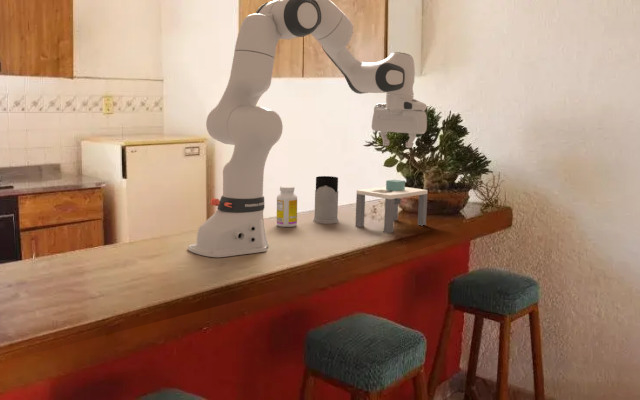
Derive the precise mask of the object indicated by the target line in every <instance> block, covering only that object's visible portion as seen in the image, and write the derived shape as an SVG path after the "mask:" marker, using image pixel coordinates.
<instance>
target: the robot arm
mask: <svg viewBox="0 0 640 400" xmlns="http://www.w3.org/2000/svg"><path fill="white" fill-rule="evenodd" d="M353 34H354V25H353V24H352V22H351V20H350V19H349V17H348V16H347V15H346V14H345V13H344V12H343V11H342V10H341V9H340V8H339V7H338V6H337V5H336V4H335V3H334V2H333V1H331V0H272V1H268V2H266V3H264V4H261V6H259V7H258V8H257V9H256V12H255V13H252V14H249V15H247V16H245V17H244V18H243V20H242V22H241V25H240V28H239V30H238V34H237V38H236V41H235V45H234V51H233V52H234V53H233V58H232V63H231V70H230V74H229V75H230V76H229V79H228V82H227V86H226V88H225V90H224V92H223V94H222V96H221V99H220V100H219V101H218V103H217V104H216V106H215V107H214V108H213V109H211V111H210V112H209V113H208V115H207V117H206V124H205V126H206V130H207V132H208V135H209V136H210V138H212V139H214V140H216V141H218V142H220V143H222V144H225V145H230V146H231V145H232V146H234V148H233V151H232V156H231V157H230V160H229V161H228V162H227V163H225V165H224V166H223V170H222V195H221V196H220V199H218V198H215V197H213V198H211V199H210V201H209V202H210V204H211V206H215V207H217V210H215V212H214V213H213V214H212V215H211V216H210V217H209V218H207V219H206V220H205V221H204V222H203V223H202V224H201V225H200V226H199V227H198V231H197V233H196V243H191V244H189V245H188V246H187V249H188V251H189V252H191V253H194V254H196V255H200V256H205V257H210V258H225V257H234V256H239V255H240V256H242V255H247V254H257V253H264V252H267V248H268V247H269V244H268V240H267V236H266V228H265V222H264V210H265V196H264V172H265V165H266V162H267V158H268V155H269V153H270V151H271V149H272V148H273V147H274V145H275V144H277V143H278V142H279V141H280V138H281V137H282V134H283V127H284V126H283V121H282V118H281V117H280V115H279V114H278V113H277V112H276V111H274V110H273V109H270V108H266V107H264V106H258V105H257V104H258V102H259V100H260V99H261V98H262V96H263V95H264V94H265V93H267V91H268V90H269V89H270V86H271V84H272V76H273V71H274V67H275V66H274V64H275V59H276V58H275V57H276V52H277V51H276V50H277V45H278V42H279V41H280V40H293V39H297V38H303V37H306V36H309V35H311V36H312V37H313V38H314V39H315V40H316V41H317V42H318V43H319V44H320V45H321V48H322V50H323V52H324V53H325V54H326V56H327V57H328V59H329V60H331V62H332V63H333V64H334V65H335V66H336V67H337V70H339V71H340V73H341V74H342V75H343V77H344V79H345V80H346V82H347V85H348V88H350V90H351V91H352V92H354V93H355V94H360V95H361V94H368V93H369V94H385V93H386V94H385V95H386V96H385V102H384V103H380V102H379V103H377V104H376V105H375V106H374V108H373V116H372V120H371V129H372V131H373V132H379V133H380V134H379V135H380V137H381V139H382V146H388V147H389V146H390V142H391V141H390V139H388V136H387V135H388V133H398V134H399V133H401V134H408V137H409V138H408V140H407V141H405V148H407V149H409V148H413V144H414V142H415V139H416V138H417V135H424V134H425V133H426V132H427V128H428V118H427V113H426V110H427V104H426V103H424V102H422V101H419V100H417V99H415V98H414V90H413V88H414V83H415V78H416V77H415V74H416V72H415V71H416V70H415V62H414V57H413V56H412V55H411V54H408V53H405V52H400V51H396V52H395V51H394V52H391V53H390V55H389V56H387V57H386V58H384V59H383V60H379V61H376V62H375V61H374V62H365V61H360V60H358V59H356V57H355V56H354V54H352V53H351V51H350V50H349V49H348V47H347V46H348V45H349V43H350V42H351V40H352V37H353Z"/></svg>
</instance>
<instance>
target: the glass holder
mask: <svg viewBox="0 0 640 400" xmlns="http://www.w3.org/2000/svg"><path fill="white" fill-rule="evenodd" d="M338 188H339V177H337V176H333V175H331V176H329V175H328V176H325V175H324V176H323V175H321V176H316V177H315V190H314V217H313V220H312V222H314V223H317V224H326V225H327V224H332V225H333V224H337V223H339V219H338V212H339V211H338V210H339V209H338V208H339V207H338V206H339V205H338V204H339V191H338V190H339V189H338Z"/></svg>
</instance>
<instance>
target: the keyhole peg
mask: <svg viewBox="0 0 640 400" xmlns="http://www.w3.org/2000/svg"><path fill="white" fill-rule="evenodd" d="M385 187H386V190H392V191H401V190H405V187H406V181H405V180H400V179H390V180H386V181H385ZM394 204H398V205H400V204H402V198H396V199H394Z"/></svg>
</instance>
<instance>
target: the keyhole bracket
mask: <svg viewBox="0 0 640 400" xmlns="http://www.w3.org/2000/svg"><path fill="white" fill-rule="evenodd" d="M366 196H369V197H373V198H381V199H385V201H384V203H385V204H384V219H383V220H384V221H383V224H384V226H383V233H386V234H390V233H393V232H394V221H395V222H396V221H398V216H399V215H398V214H399V213H398V212H399V204H394V199H396V198H400V199H402V198H408V197H414V196H418V208H417V226H419V225H421V226H420V227H424V226H423V225H425V226H427V211H428V210H427V208H428V189H424V188H423V189H421V188H417V187H415V188H414V187H408V186H405V190H401V191H392V190H386V186H378V187H372V188H371V187H370V188H364V189H357V190H356V199H355V200H356V202H355V204H356V205H355V206H356V207H355V225H354V226H355V227H356V228H362V227H363V228H364V226H365V213H366V211H365V207H366Z"/></svg>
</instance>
